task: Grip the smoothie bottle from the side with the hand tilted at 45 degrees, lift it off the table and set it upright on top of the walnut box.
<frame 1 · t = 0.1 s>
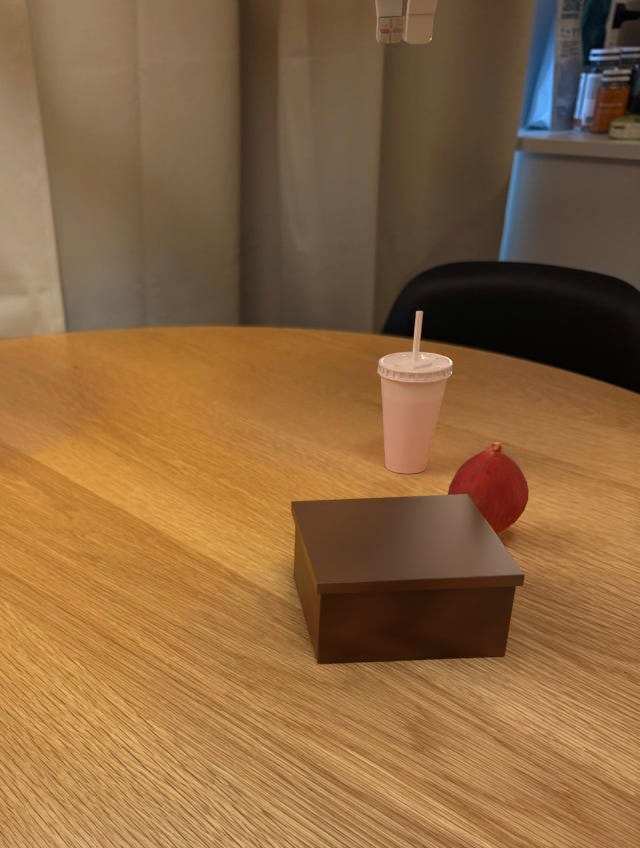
hand: (401, 43, 75), 34 cm above the table, tool pointing down, fingers open, 8 cm apart
smoothie: (405, 468, 92), on the table
walnut box: (391, 613, 69), on the table
onion: (481, 541, 79), on the table
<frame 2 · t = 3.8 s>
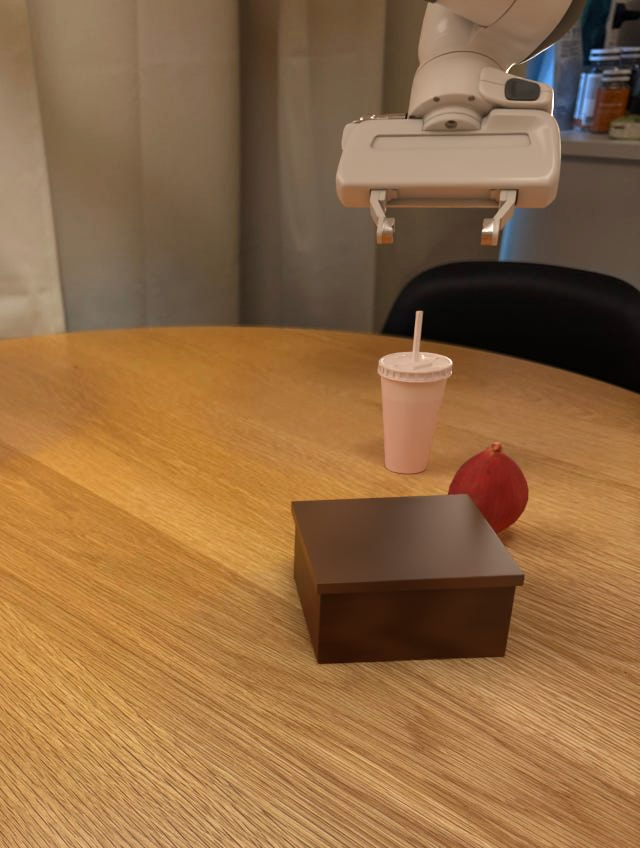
hand: (435, 240, 93), 18 cm above the table, tool tilted 45°, fingers open, 8 cm apart
nothing on the table moved.
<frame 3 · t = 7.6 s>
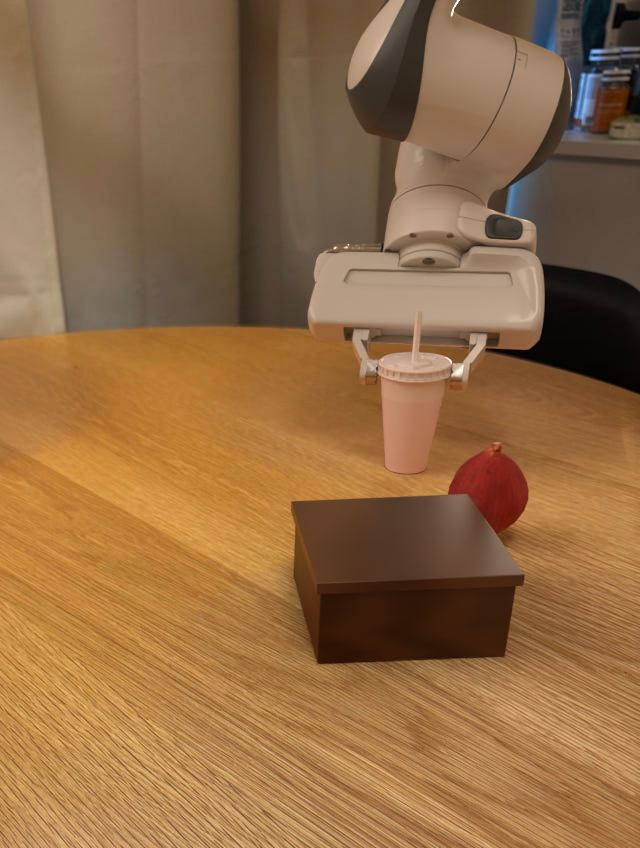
hand: (413, 384, 88), 8 cm above the table, tool tilted 45°, fingers closed on smoothie, 6 cm apart
smoothie: (405, 468, 92), on the table, touching gripper
everything else where it was.
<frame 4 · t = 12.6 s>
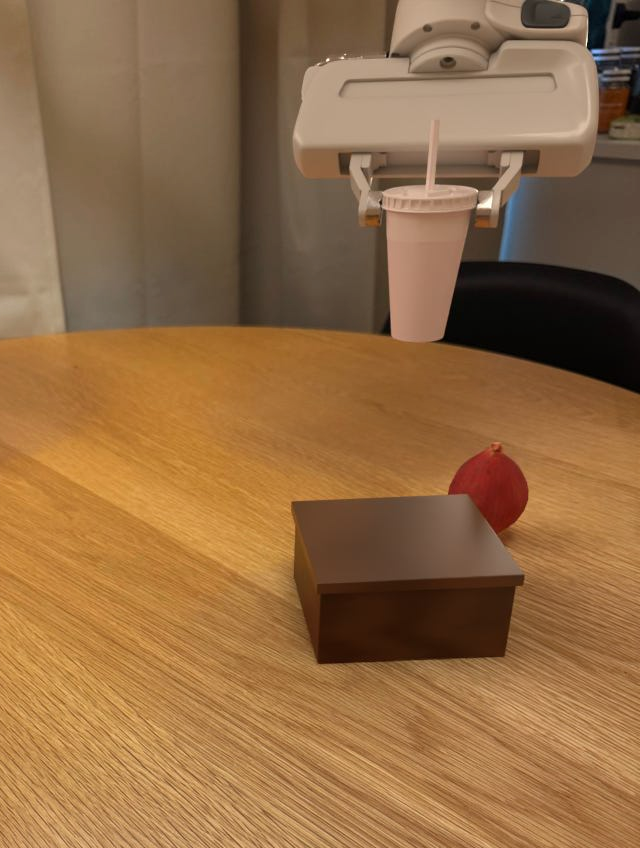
hand: (427, 222, 68), 23 cm above the table, tool tilted 45°, fingers closed on smoothie, 6 cm apart
smoothie: (417, 338, 73), point 15 cm above the table, touching gripper
everything else where it was.
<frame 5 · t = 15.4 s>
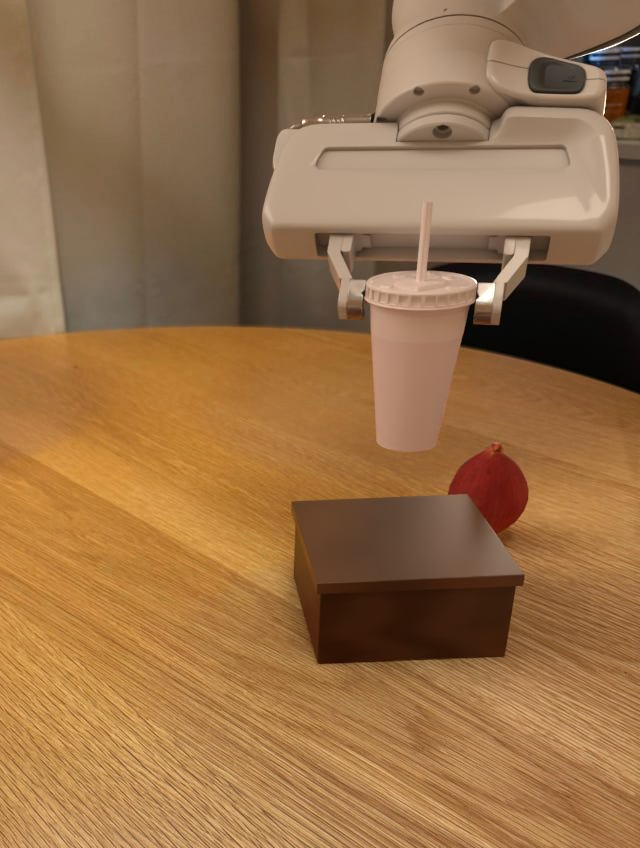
hand: (418, 317, 58), 20 cm above the table, tool tilted 45°, fingers closed on smoothie, 6 cm apart
smoothie: (406, 444, 63), point 12 cm above the table, touching gripper
everything else where it was.
when the fingers open (14 cm above the table, at t = 17.8 s): smoothie stays where it is, resting on walnut box.
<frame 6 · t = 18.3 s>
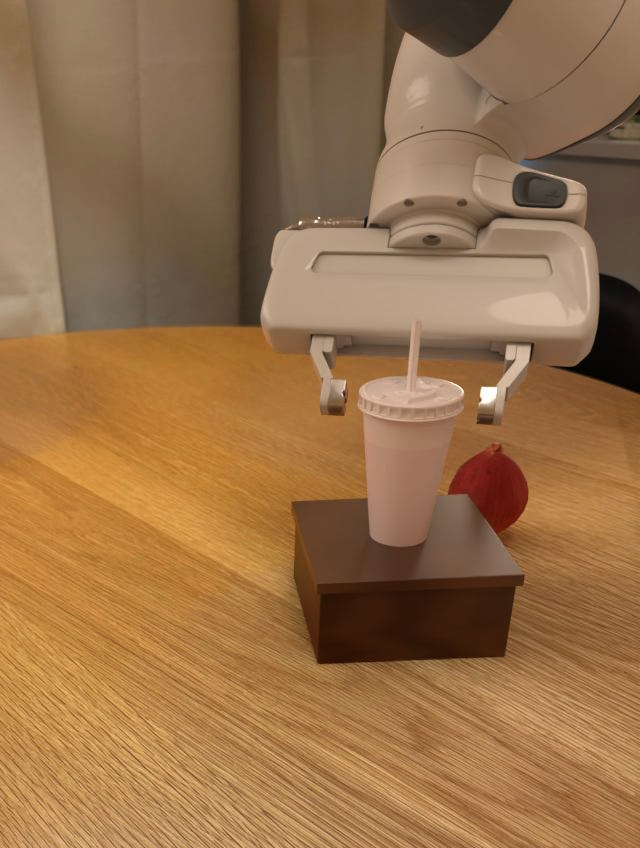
hand: (408, 416, 61), 14 cm above the table, tool tilted 45°, fingers open, 8 cm apart
smoothie: (397, 537, 66), point 6 cm above the table, touching walnut box
everything else where it was.
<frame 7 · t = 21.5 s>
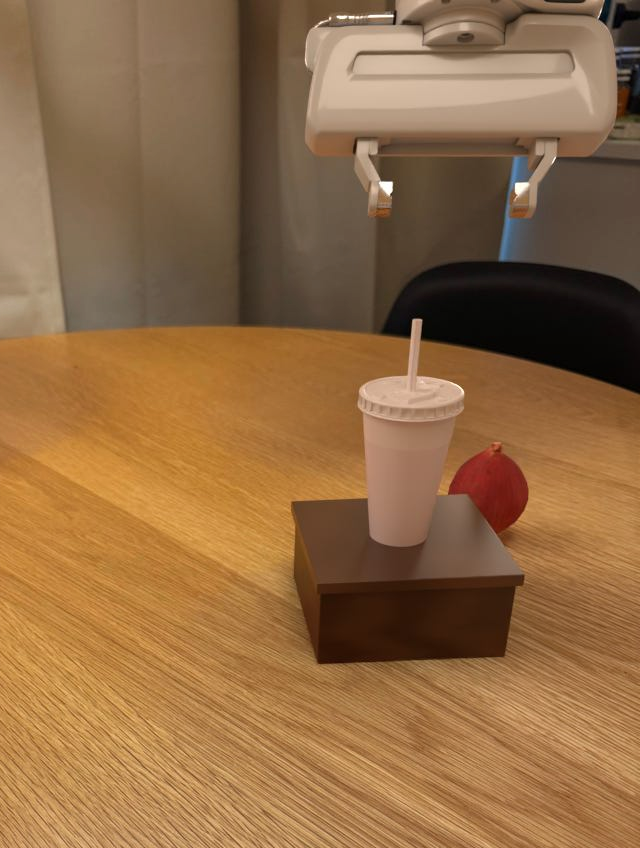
hand: (450, 214, 68), 24 cm above the table, tool tilted 30°, fingers open, 8 cm apart
nothing on the table moved.
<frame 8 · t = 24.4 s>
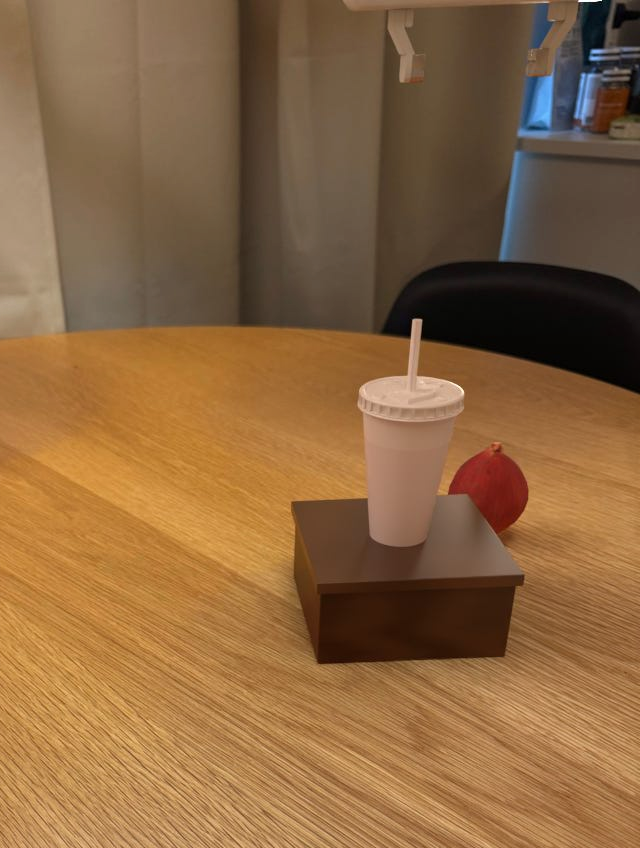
hand: (474, 79, 75), 31 cm above the table, tool pointing down, fingers open, 8 cm apart
nothing on the table moved.
at the end: smoothie inside the target area on the walnut box (0.0 cm from its centre), point 5.8 cm above the walnut box's base; smoothie tilted 0°; the gripper is holding nothing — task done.
